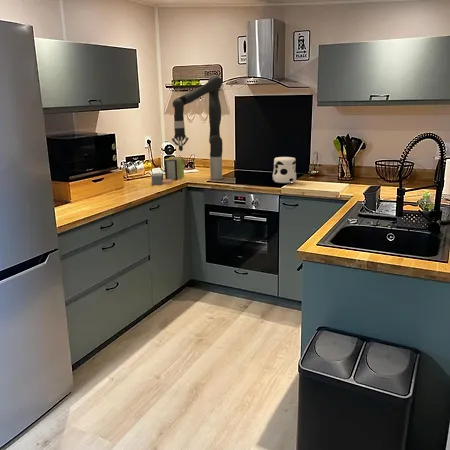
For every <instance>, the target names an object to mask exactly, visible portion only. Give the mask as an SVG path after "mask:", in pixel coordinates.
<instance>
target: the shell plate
mask: <svg viewBox="0 0 450 450" xmlns="http://www.w3.org/2000/svg"><path fill="white" fill-rule="evenodd" d="M173 183H174V180H173V179H165V178H163V179H162V185H172V184H173Z"/></svg>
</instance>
